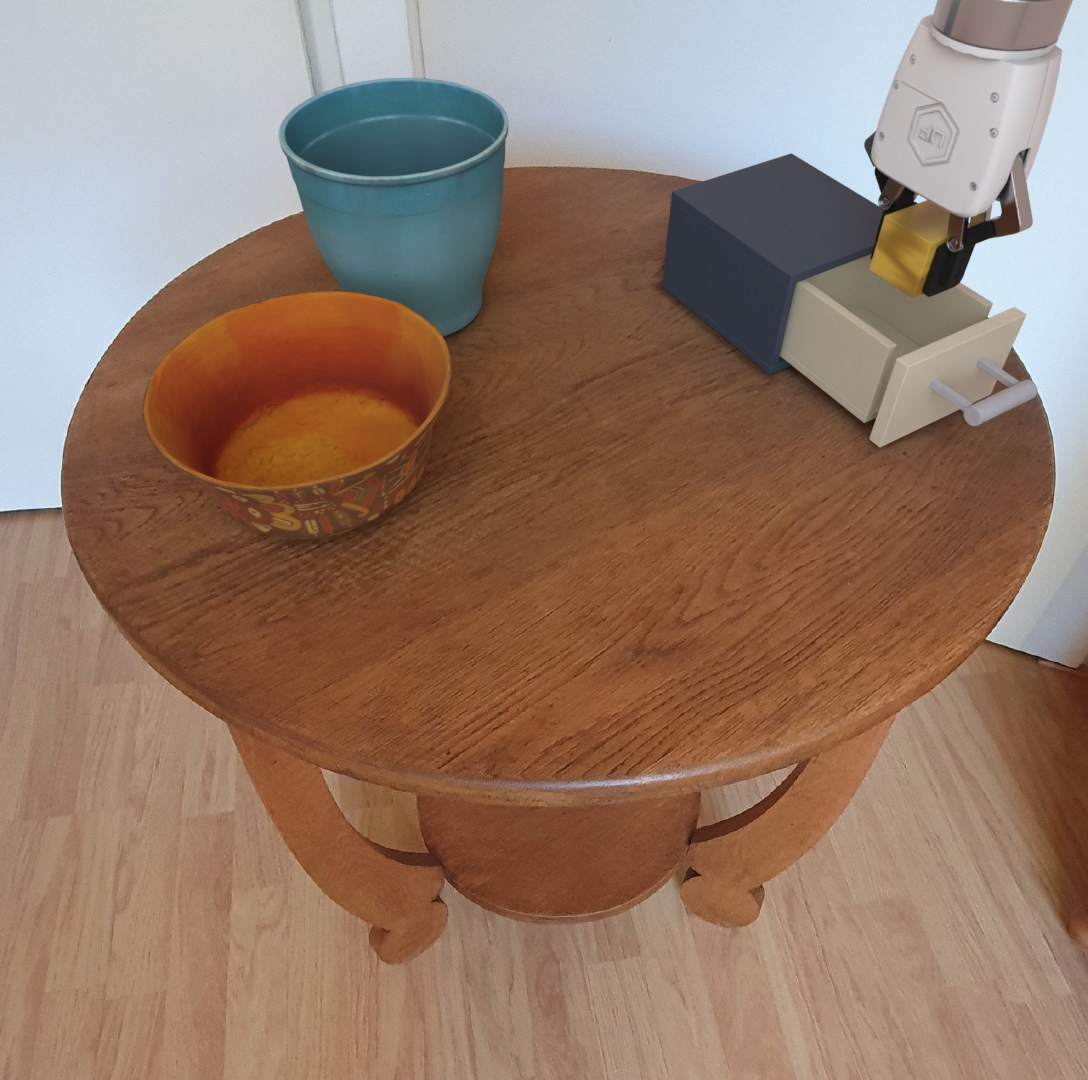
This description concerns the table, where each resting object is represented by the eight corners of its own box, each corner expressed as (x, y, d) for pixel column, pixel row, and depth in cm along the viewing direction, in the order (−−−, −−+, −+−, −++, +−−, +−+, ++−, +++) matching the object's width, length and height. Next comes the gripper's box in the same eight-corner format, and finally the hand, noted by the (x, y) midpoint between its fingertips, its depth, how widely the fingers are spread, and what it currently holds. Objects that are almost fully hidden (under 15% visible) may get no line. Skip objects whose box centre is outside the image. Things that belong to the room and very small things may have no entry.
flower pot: (304, 270, 91) (265, 91, 78) (484, 240, 95) (474, 63, 82) (335, 383, 80) (294, 194, 67) (538, 343, 83) (537, 157, 70)
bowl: (161, 599, 64) (111, 496, 57) (202, 399, 78) (166, 295, 71) (469, 574, 66) (459, 470, 58) (455, 381, 80) (446, 278, 72)
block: (955, 280, 71) (975, 226, 67) (912, 298, 69) (931, 243, 66) (911, 253, 73) (928, 199, 70) (868, 269, 72) (884, 215, 69)
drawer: (1040, 429, 74) (1082, 348, 68) (927, 487, 70) (962, 405, 64) (864, 307, 85) (888, 228, 80) (758, 350, 81) (774, 270, 75)
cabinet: (886, 326, 85) (917, 229, 78) (769, 375, 80) (791, 276, 73) (772, 246, 94) (791, 153, 87) (661, 286, 89) (671, 191, 82)
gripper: (856, -19, 61) (799, 236, 75) (1074, 74, 52) (963, 347, 65) (939, -39, 64) (869, 211, 77) (1161, 46, 54) (1037, 314, 68)
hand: (913, 271), depth 71 cm, fingers closed on block, 4 cm apart
